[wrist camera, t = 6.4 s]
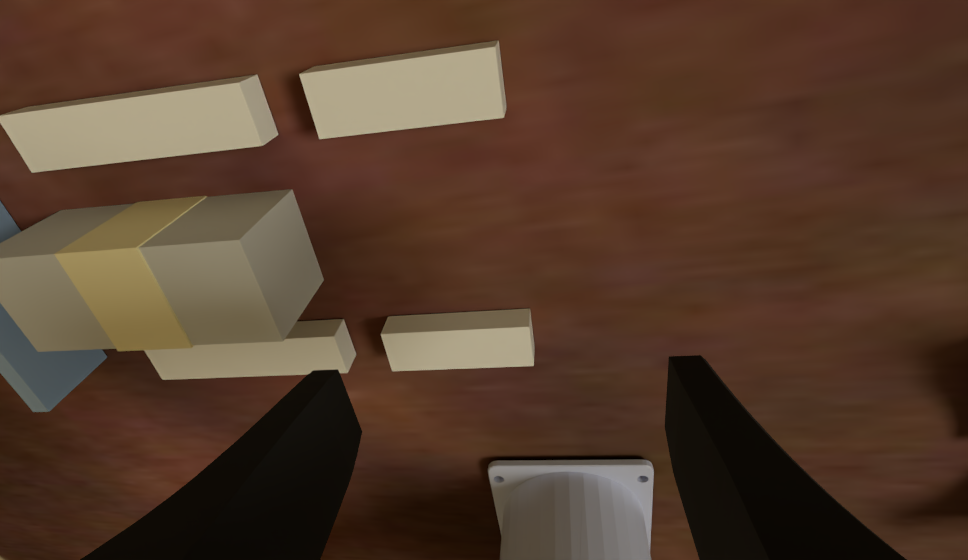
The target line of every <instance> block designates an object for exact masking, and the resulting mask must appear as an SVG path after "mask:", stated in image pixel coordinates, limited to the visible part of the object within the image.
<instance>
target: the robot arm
mask: <svg viewBox="0 0 968 560" xmlns="http://www.w3.org/2000/svg"><path fill="white" fill-rule="evenodd" d="M665 430H666V436H667V441H668V447H669V452H670V458H671V463H672V468H673V473H674V477H675V480H676V483H677V487H678V490H679V493H680V497H681V500H682V503H683V507H684V510H685V513H686V517H687V520H688V523H689V526H690V530H691V533H692V536H693V539H694V543H695V546H696V549H697V552H698V556H699V559H700V560H906V559H905V558H904V557H903V556H901V555H900V554H899V553H898V552H896V551H895V550H894V549H893V548H891V547H890V546H889V545H888V544H887V543H885V542H884V541H883V540H882V539H880V538H879V537H878V536H877V535H876V534H874V533H873V532H872V531H871V530H870V529H868V528H867V527H866V526H865V525H864V524H862V523H861V522H860V521H859V520H858V519H857V518H856V517H854V516H853V515H852V514H851V513H850V512H849V511H847V510H846V509H845V508H844V507H843V506H842V505H841V504H839V503H838V502H837V501H836V500H835V499H834V498H833V497H832V496H831V495H830V494H828V493H827V492H826V491H825V490H824V489H823V488H822V487H821V486H820V485H819V484H818V483H817V482H816V481H815V480H813V479H812V478H811V477H810V476H809V475H808V474H807V473H806V472H805V471H804V470H803V469H802V468H801V467H800V466H799V465H798V464H797V463H796V462H795V461H794V460H793V459H792V458H791V457H790V456H789V455H788V454H787V453H786V452H785V451H784V450H783V449H782V448H781V447H780V446H779V445H778V444H777V443H776V441H775V440H774V439H773V438H772V437H771V436H770V435H769V434H768V433H767V432H766V431H765V430H764V428H763V427H762V426H761V425H760V424H759V423H758V422H757V421H756V420H755V419H754V418H753V417H752V415H751V414H750V413H749V412H748V411H747V410H746V409H745V407H744V406H743V405H742V404H741V403H740V402H739V400H738V399H737V398H736V397H735V396H734V395H733V393H732V392H731V391H730V390H729V389H728V387H727V386H726V385H725V384H724V383H723V381H722V380H721V379H720V378H719V376H718V375H717V374H716V372H715V371H714V370H713V369H712V367H711V366H710V365H709V364H708V362H707V361H706V360H705V359H704V358H703V357H702V356H701V355H699V356H673V357H669V366H668V382H667V399H666V416H665ZM361 434H362V430H361V428H360V425H359V422H358V420H357V417H356V415H355V412H354V409H353V407H352V404H351V402H350V399H349V396H348V394H347V391H346V389H345V386H344V383H343V381H342V378H341V376H340V373H339V370H338V369H336V370H313V371H312V372H311V373H310V374H308V375H307V376H306V377H305V378H304V379H303V380H302V381H301V382H299V383H298V384H297V385H296V386H295V387H294V388H293V389H292V390H291V391H290V392H289V393H288V394H287V395H286V396H285V397H283V398H282V399H281V400H280V401H279V402H278V403H277V404H276V405H275V406H274V407H273V408H272V409H271V410H270V411H269V412H268V413H266V414H265V415H264V416H263V417H262V418H261V419H260V420H259V421H258V422H257V423H256V424H255V425H254V426H253V427H251V428H250V429H249V430H248V431H247V432H246V433H245V434H244V435H243V436H242V437H241V438H240V439H238V440H237V441H236V442H235V443H234V444H233V445H232V446H230V447H229V448H228V449H227V450H226V451H225V452H223V453H222V454H221V455H220V456H219V457H218V458H217V459H215V460H214V461H213V462H212V463H211V464H210V465H208V466H207V467H206V468H205V469H204V470H203V471H202V472H200V473H199V474H198V475H197V476H196V477H194V478H193V479H192V480H191V481H190V482H188V483H187V484H186V485H185V486H183V487H182V488H181V489H180V490H178V491H177V492H176V493H174V494H173V495H172V496H171V497H169V498H168V499H167V500H165V501H164V502H163V503H161V504H160V505H159V506H157V507H156V508H155V509H153V510H152V511H151V512H149V513H148V514H147V515H145V516H144V517H142V518H141V519H140V520H138V521H137V522H135V523H134V524H133V525H131V526H130V527H128V528H127V529H125V530H124V531H122V532H121V533H119V534H118V535H116V536H115V537H113V538H112V539H110V540H109V541H107V542H106V543H104V544H103V545H101V546H100V547H99V548H97V549H96V550H94V551H93V552H91V553H90V554H88V555H87V556H85V557H84V558H82V559H81V560H320V558H321V556H322V553H323V550H324V548H325V545H326V543H327V540H328V537H329V535H330V532H331V529H332V527H333V524H334V522H335V519H336V516H337V514H338V511H339V508H340V506H341V503H342V500H343V498H344V495H345V492H346V490H347V487H348V484H349V481H350V479H351V476H352V472H353V469H354V465H355V461H356V457H357V452H358V448H359V443H360V439H361ZM488 476H489V480H490V485H491V490H492V494H493V499H494V504H495V508H496V513H497V518H498V522H499V527H500V532H501V537H502V538H501V551H500V560H651V556H650V541H651V519H652V498H653V477H654V470H653V466H652V463H651V462H650V461H647V460H643V459H624V460H497V461H493V462H491V463H490V464H489V466H488Z"/></svg>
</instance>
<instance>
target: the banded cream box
mask: <svg viewBox="0 0 968 560" xmlns="http://www.w3.org/2000/svg"><path fill="white" fill-rule="evenodd" d="M323 281H324V279H323V276H322V273H321V270H320V267H319V264H318V261H317V259H316V256H315V253H314V250H313V247H312V244H311V242H310V239H309V236H308V233H307V230H306V227H305V224H304V222H303V219H302V216H301V213H300V210H299V207H298V204H297V202H296V199H295V196H294V193H293V190H292V189H289V190H278V191H267V192H256V193H245V194H234V195H223V196H212V197H207V196H198V197H187V198H176V199H165V200H155V201H144V202H136V203H135V204H124V205H113V206H102V207H91V208H80V209H69V210H60V211H58V212H57V213H55V214H53V215H51V216H49V217H47V218H46V219H44V220H42V221H40V222H38V223H36V224H35V225H33V226H31V227H29V228H27V229H25V230H24V231H22V232H20V233H18V234H16V235H14V236H13V237H11V238H9V239H7V240H5V241H3V242H1V243H0V303H1V304H2V306H3V307H4V308H5V310H6V311H7V312H8V314H9V315H10V316H11V318H12V319H13V320H14V321H15V323H16V324H17V325H18V327H19V328H20V329H21V331H22V332H23V333H24V335H25V336H26V337H27V338H28V340H29V341H30V342H31V344H32V345H33V346H34V348H35V349H36V350H37V352H47V351H70V350H94V349H117V351H136V350H160V349H184V348H192V347H193V346H194V345H211V344H235V343H258V342H282V341H284V339H285V338H286V336H287V335H288V333H289V332H290V330H291V329H292V327H293V326H294V324H295V323H296V321H297V320H298V318H299V317H300V315H301V314H302V312H303V311H304V309H305V308H306V306H307V305H308V303H309V302H310V300H311V299H312V297H313V296H314V294H315V293H316V291H317V290H318V288H319V287H320V285H321V284H322V282H323Z"/></svg>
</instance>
